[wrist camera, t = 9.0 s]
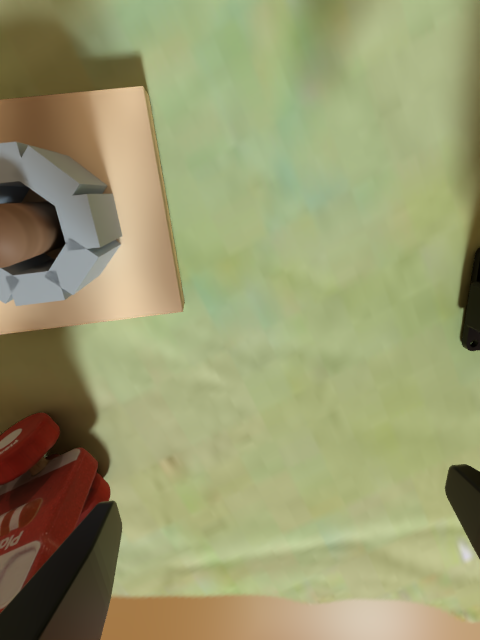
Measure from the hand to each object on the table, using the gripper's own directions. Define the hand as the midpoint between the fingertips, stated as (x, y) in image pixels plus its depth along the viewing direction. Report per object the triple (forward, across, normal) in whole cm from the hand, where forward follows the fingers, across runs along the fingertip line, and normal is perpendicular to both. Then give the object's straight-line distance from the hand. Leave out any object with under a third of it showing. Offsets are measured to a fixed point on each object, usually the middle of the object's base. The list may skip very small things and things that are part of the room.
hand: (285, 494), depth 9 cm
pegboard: (+11, +9, -7) cm, 16 cm away
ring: (+10, +9, -7) cm, 15 cm away
